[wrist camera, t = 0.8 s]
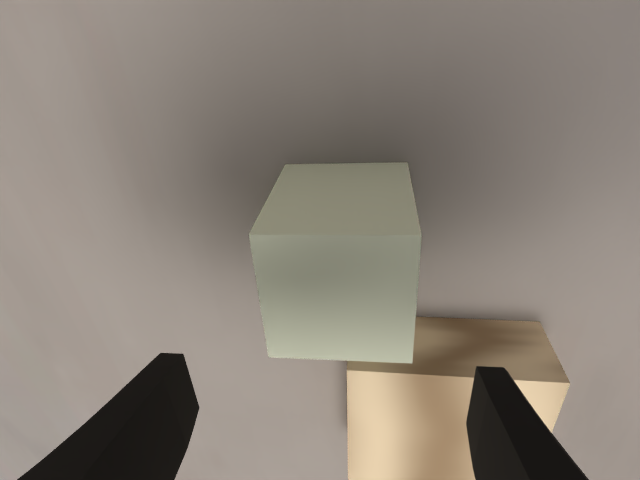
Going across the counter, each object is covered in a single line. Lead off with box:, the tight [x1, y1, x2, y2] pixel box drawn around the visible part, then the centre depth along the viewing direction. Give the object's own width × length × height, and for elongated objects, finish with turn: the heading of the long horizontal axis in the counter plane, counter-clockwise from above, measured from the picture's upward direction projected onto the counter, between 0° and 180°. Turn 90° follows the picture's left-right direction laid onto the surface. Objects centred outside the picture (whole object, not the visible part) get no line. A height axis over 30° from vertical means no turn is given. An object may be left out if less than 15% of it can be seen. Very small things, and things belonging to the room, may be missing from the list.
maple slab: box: [347, 317, 570, 480], centre depth 22 cm, size 9×9×4 cm
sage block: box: [249, 162, 422, 363], centre depth 16 cm, size 5×5×6 cm
